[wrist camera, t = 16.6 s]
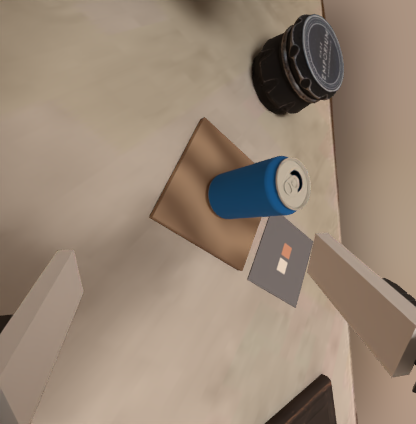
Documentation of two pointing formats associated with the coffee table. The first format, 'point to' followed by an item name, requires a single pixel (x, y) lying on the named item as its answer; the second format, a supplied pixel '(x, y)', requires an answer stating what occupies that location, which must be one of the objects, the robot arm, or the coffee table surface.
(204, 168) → the walnut board
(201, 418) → the coffee table surface
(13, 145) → the coffee table surface
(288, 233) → the gray tile
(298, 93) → the container
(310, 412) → the hardcover book
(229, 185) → the beverage can
